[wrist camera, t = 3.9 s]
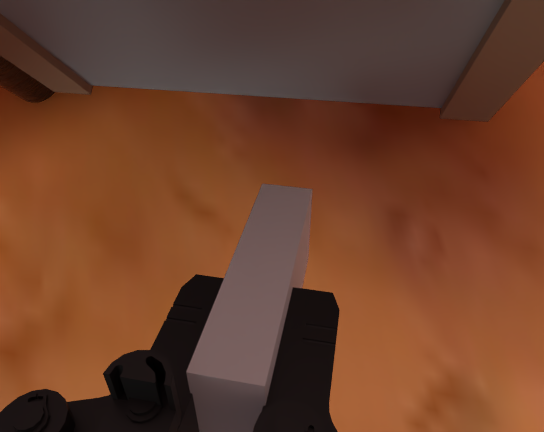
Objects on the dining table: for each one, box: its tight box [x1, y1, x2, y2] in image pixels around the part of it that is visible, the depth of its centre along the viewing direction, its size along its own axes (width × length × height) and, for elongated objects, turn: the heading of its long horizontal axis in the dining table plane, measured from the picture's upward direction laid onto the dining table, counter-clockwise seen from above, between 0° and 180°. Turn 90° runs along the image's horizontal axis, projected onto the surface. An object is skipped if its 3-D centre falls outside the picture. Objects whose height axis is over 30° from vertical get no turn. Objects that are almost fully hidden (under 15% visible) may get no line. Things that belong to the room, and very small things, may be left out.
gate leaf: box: [0, 0, 544, 122], centre depth 14 cm, size 19×2×11 cm, turn 83°
